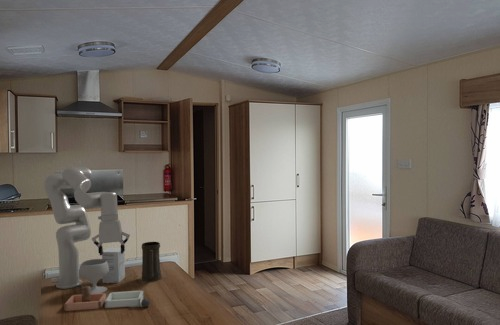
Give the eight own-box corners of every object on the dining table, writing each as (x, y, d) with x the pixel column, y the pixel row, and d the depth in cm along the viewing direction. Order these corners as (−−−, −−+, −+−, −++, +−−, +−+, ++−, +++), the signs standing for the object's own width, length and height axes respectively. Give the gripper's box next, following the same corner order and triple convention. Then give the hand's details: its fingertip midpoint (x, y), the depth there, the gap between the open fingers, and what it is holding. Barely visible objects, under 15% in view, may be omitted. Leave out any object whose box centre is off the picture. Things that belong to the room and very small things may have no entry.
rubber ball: (140, 308, 172) (140, 300, 171) (142, 305, 175) (141, 297, 175) (149, 307, 172) (149, 299, 172) (150, 304, 176) (149, 297, 176)
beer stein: (139, 276, 216) (139, 242, 215) (159, 274, 221) (158, 239, 219) (144, 287, 203) (144, 249, 201) (164, 283, 207) (164, 247, 205)
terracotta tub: (64, 312, 169) (64, 304, 169) (72, 302, 180) (72, 295, 180) (100, 309, 171) (100, 301, 171) (106, 300, 182) (106, 292, 182)
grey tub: (105, 309, 171) (104, 301, 171) (110, 299, 183) (110, 292, 182) (140, 306, 174) (140, 299, 174) (143, 297, 185) (143, 290, 185)
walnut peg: (81, 306, 174) (80, 288, 173) (83, 303, 177) (82, 286, 177) (89, 305, 174) (88, 288, 174) (91, 302, 178) (91, 285, 178)
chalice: (99, 297, 186) (98, 266, 186) (73, 295, 189) (72, 265, 189) (114, 287, 200) (114, 258, 199) (90, 286, 203) (89, 257, 202)
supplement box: (109, 277, 217) (108, 247, 217) (125, 277, 217) (124, 247, 216) (102, 283, 207) (101, 251, 207) (119, 282, 207) (118, 251, 207)
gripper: (88, 220, 179) (90, 257, 179) (127, 217, 182) (129, 253, 181) (92, 218, 186) (94, 253, 186) (129, 215, 189) (131, 250, 189)
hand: (111, 253), depth 184 cm, fingers open, 9 cm apart
